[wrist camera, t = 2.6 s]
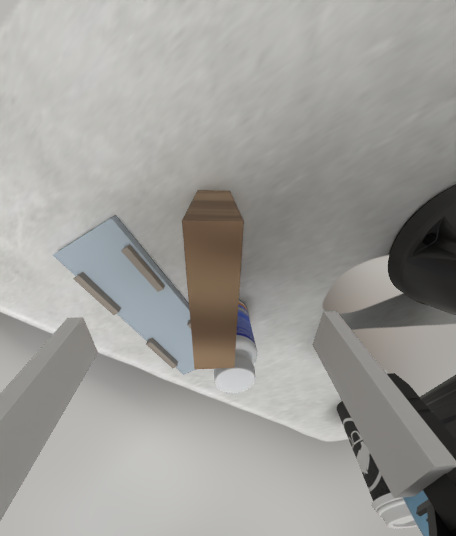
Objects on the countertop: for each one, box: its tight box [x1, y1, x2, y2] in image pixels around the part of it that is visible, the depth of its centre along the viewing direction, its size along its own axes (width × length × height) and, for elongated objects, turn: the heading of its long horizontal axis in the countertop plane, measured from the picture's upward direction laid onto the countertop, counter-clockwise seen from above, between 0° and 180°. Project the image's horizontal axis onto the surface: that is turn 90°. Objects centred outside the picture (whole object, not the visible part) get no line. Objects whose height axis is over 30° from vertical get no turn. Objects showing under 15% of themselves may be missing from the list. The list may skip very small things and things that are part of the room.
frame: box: [182, 190, 244, 369], centre depth 18 cm, size 12×3×11 cm, turn 178°
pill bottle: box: [214, 301, 257, 393], centre depth 24 cm, size 5×5×10 cm
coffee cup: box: [337, 401, 417, 528], centre depth 35 cm, size 10×10×15 cm
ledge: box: [53, 215, 196, 375], centre depth 26 cm, size 8×24×2 cm, turn 28°
